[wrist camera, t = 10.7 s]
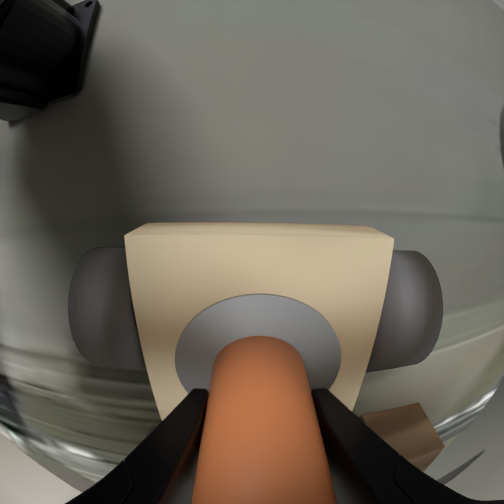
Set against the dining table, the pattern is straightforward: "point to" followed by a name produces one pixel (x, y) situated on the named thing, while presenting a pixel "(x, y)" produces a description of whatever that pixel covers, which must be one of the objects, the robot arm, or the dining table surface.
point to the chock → (407, 433)
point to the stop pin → (261, 430)
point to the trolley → (254, 302)
